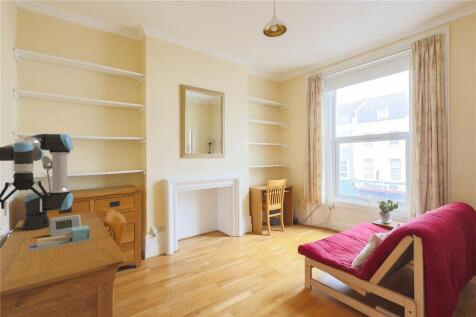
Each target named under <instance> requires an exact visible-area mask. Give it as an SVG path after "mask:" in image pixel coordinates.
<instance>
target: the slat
mask: <svg viewBox="0 0 476 317" xmlns="http://www.w3.org/2000/svg"><path fill="white" fill-rule="evenodd" d="M70 238H71V233H68V234H63V235H57V236H52V237H45V238H38V239H37V241H36V244H37V247H41V246H46V245H52V244H57V243H62V242H68V241H70Z"/></svg>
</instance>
